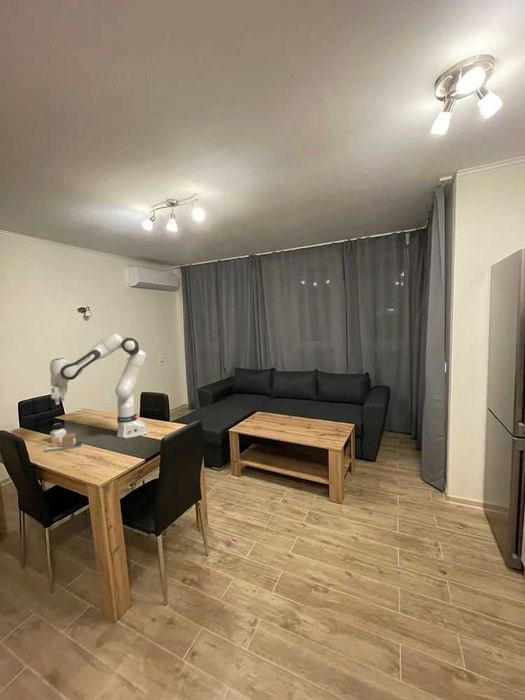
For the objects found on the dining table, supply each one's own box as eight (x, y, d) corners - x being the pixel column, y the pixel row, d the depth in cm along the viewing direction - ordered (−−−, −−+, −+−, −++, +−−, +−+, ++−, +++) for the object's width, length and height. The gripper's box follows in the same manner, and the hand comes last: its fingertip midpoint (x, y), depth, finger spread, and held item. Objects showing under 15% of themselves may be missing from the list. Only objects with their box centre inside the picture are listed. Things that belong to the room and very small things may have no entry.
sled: (75, 442, 194) (75, 434, 193) (74, 444, 190) (73, 437, 190) (54, 445, 190) (54, 437, 189) (52, 447, 186) (51, 439, 186)
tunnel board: (83, 442, 197) (82, 431, 196) (80, 447, 190) (79, 436, 189) (48, 447, 190) (47, 435, 190) (44, 452, 183) (43, 440, 182)
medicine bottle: (67, 440, 202) (65, 423, 201) (55, 443, 196) (54, 426, 195) (62, 437, 206) (61, 421, 205) (51, 441, 200) (49, 424, 199)
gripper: (59, 385, 184) (60, 406, 185) (68, 379, 203) (69, 398, 205) (47, 385, 182) (48, 407, 183) (58, 379, 201) (59, 399, 202)
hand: (60, 402), depth 194 cm, fingers open, 8 cm apart
